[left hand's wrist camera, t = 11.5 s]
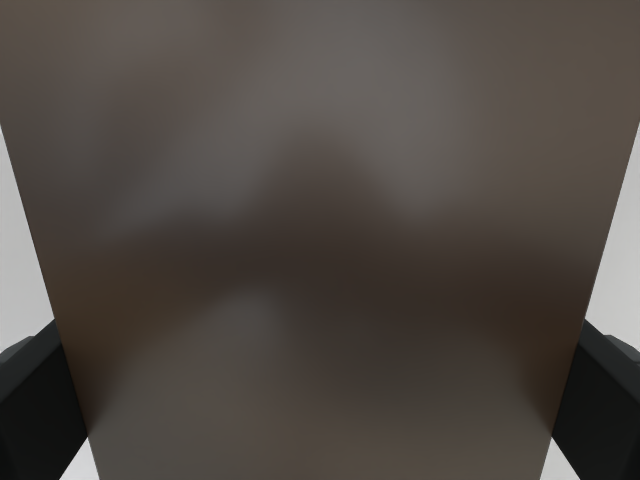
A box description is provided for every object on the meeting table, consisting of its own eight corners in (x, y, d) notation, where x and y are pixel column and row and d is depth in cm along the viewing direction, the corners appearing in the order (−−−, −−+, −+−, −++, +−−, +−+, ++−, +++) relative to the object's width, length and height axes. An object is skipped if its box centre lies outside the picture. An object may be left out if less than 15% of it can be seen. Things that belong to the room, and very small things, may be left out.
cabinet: (147, -81, 13) (-140, -363, 5) (492, -81, 13) (776, -361, 5) (200, 334, 19) (109, 520, 11) (439, 334, 19) (529, 520, 11)
